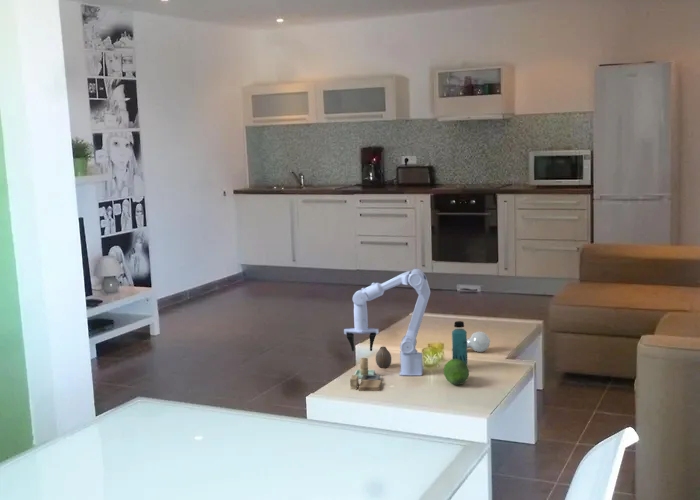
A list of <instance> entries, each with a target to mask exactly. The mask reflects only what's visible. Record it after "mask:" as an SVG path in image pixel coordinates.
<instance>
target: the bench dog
mask: <svg viewBox="0 0 700 500" xmlns="http://www.w3.org/2000/svg"><path fill="white" fill-rule="evenodd" d="M349 383H350V390H357V389H358V388H359V386H360V381H359V379H358V375H354V374H353V375H351V377H350V380H349Z"/></svg>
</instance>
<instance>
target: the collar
mask: <svg viewBox="0 0 700 500" xmlns="http://www.w3.org/2000/svg"><path fill="white" fill-rule="evenodd" d="M362 380H381V374H375V375H363V377H362V379H360V382H361V381H362Z"/></svg>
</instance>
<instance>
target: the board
mask: <svg viewBox="0 0 700 500" xmlns="http://www.w3.org/2000/svg"><path fill="white" fill-rule="evenodd" d="M382 384H383V383H382V379H380V380H362V381H361V380H360V382H359V385H358V391H359V392H379V391H380V390H381V386H382Z"/></svg>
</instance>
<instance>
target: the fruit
mask: <svg viewBox="0 0 700 500" xmlns="http://www.w3.org/2000/svg"><path fill="white" fill-rule="evenodd" d="M443 373H444V377H445V379H446V381H447V382H448V383H450V384H451V385H462V384H464V383H465V382H466V381H467V380H468V379H469V376H470V370H469V366H468V365H466V363H465V362H464V361H462V360H460V359H453V358H452V359H450V360H448V361H447V362H446V363H445V364H444V369H443Z"/></svg>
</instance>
